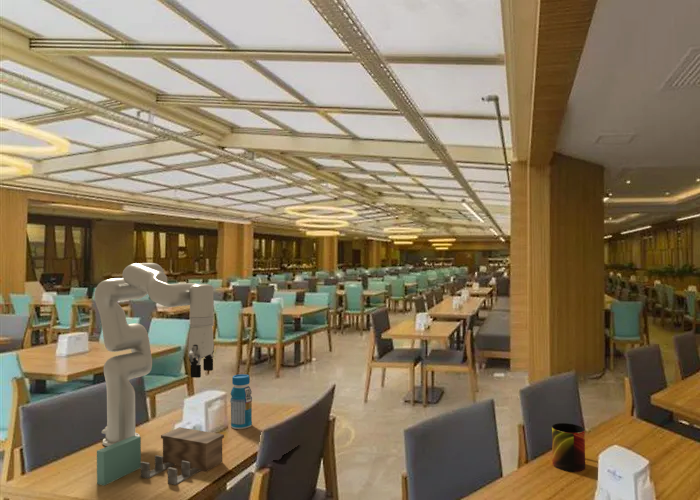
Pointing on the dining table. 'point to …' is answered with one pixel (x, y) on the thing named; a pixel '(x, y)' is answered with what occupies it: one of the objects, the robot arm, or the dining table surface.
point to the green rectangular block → (118, 460)
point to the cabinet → (186, 454)
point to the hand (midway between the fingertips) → (202, 373)
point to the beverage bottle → (241, 402)
